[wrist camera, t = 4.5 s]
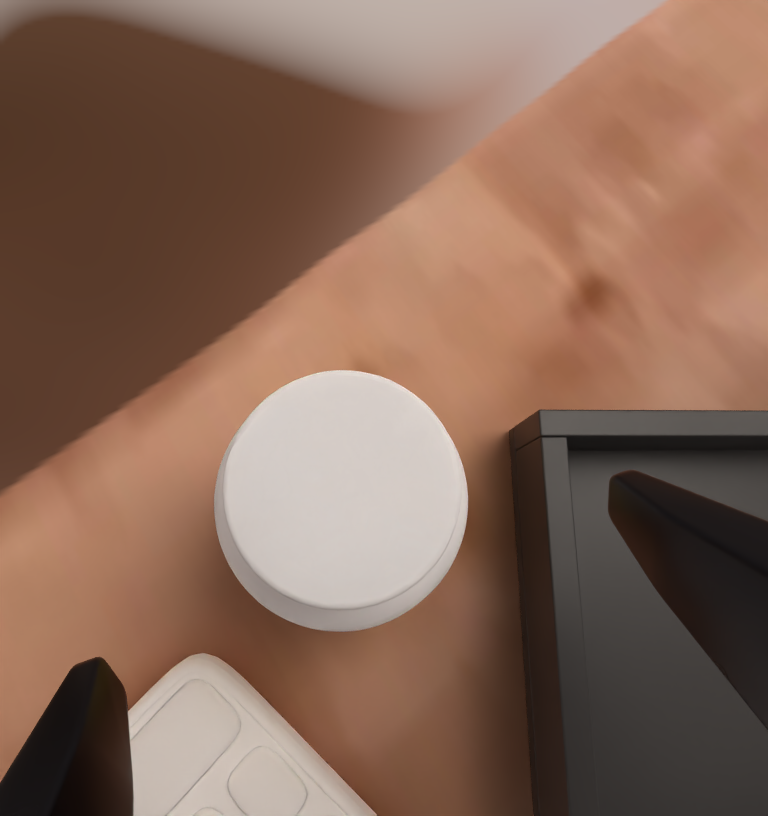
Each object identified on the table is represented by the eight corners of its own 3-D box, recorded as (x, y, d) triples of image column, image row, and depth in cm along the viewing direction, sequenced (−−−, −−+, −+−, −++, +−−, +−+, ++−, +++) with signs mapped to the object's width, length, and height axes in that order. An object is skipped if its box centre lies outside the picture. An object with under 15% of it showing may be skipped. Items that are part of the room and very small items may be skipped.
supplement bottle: (226, 479, 19) (122, 410, 10) (374, 405, 20) (411, 276, 11) (301, 636, 18) (268, 727, 9) (453, 550, 19) (569, 549, 10)
